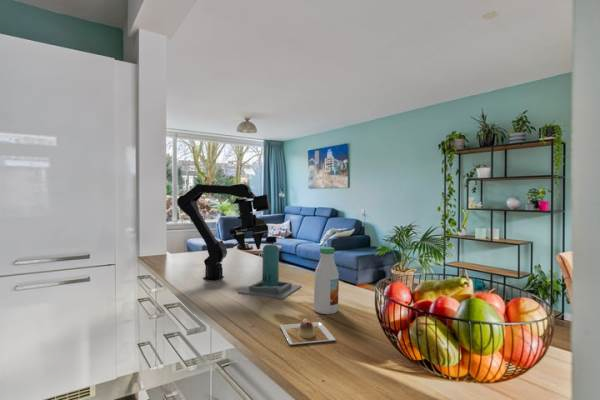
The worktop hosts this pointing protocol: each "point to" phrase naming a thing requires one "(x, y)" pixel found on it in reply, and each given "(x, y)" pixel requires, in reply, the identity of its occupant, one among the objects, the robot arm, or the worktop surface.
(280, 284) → the grey square base plate
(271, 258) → the beverage bottle
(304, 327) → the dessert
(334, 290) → the milk bottle
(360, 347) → the worktop surface
